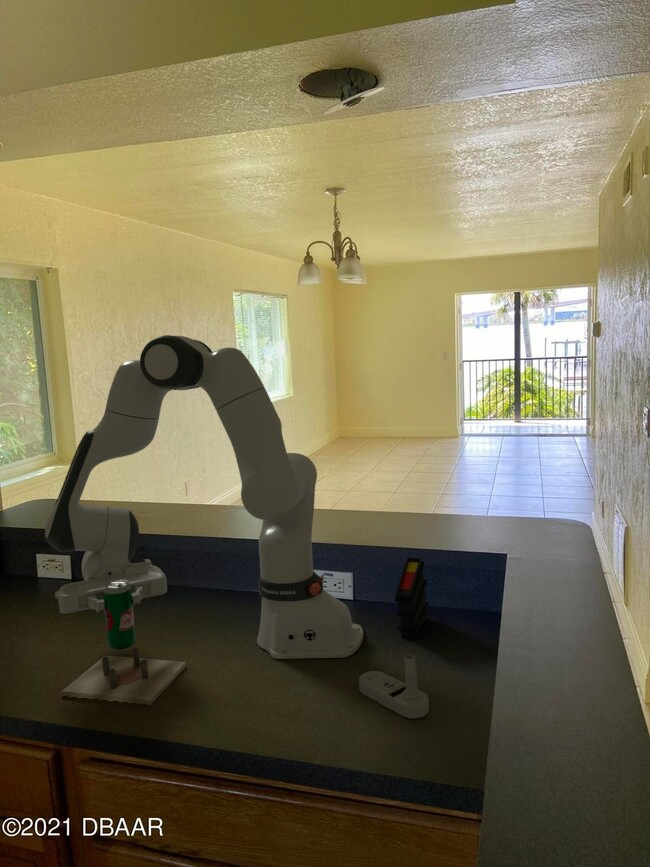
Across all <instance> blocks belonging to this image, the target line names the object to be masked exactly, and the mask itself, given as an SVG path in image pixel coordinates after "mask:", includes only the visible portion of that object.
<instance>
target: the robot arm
mask: <svg viewBox="0 0 650 867" xmlns="http://www.w3.org/2000/svg"><path fill="white" fill-rule="evenodd" d="M111 382H112V383H111V385H110V389H109V393H108V396H107V399H106V403H105V409H104V413H103V416H102V418H101V420H100V421H99V422H98V424H97V426H96V427H95V428H93V429H91V430H88V431H86V432H85V433H84V434H83V436H82V438H81V440H80V441H79V444H78V446H77V448H76V450H75V453H74V456H73V457H72V460H71V463H70V465H69V468H68V471H67V473H66V476H65V477H64V480H63V483H62V486H61V489H60V492H59V494H58V497H57V499H56V501H55V503H54V506H53V508H52V509H51V512H50V513H49V514H48V516H47V517H48V518H47V519H46V523H45V527H44V529H45V530H44V531H45V532H44V533H45V534H44V535H45V541H46V542H47V543H48V544H49V545H50V546H51V547H52V548H53V549H54V550H56V551H57V552H60V553H61V552H76V551H78V552H84V555H83V558H82V561H81V573H82V579H83V580H80V581H75V582H70V583H66V584H63V585H62V586H61V587H60V588H59V590H56V591H55V592H54V595H55V599H57V601H58V607H59V613H60V614H72V613H76V612H81V611H86V610H96V613H99V612H105V607H104V606H105V603H104V599H103V590H104V588H105V587H104V586H105V584H107V583H109V582H112V581H116V580H126V581H128V582H129V585H130V586H131V592H132V603H133V606H134V605H138V604H139V605H140V604H141V600H142V599H146V598H152V597H156V596H162V595H165V593H167V592H168V582H167V576H166V574H165V573H164V572H163V570H161V568H160V567H158V566H157V565H153V564H152V561H151V559H149V558H148V559H147V558H144V559H143V558H141V559H132V558H133V557H134V555H135V554H136V551H137V548H138V544H139V540H140V537H139V536H140V535H139V534H140V530H139V528H140V526H139V523H138V520H137V518H136V516H135V514H134V513H133V512H132V511H131V510H130V509H128V508H123V507H113V506H96V505H86V504H81V503H80V500H81V497H82V495H83V493H84V491H85V487H86V484H87V482H88V479H89V476H90V474H91V472H92V471H93V469H95V467H97V466H98V465H100V464H102V463H104V462H106V461H110V460H114V459H118V458H123V457H128V456H131V455H134V454H137V453H139V452H141V451H142V450H144V449H146V448H147V447H148V446H150V444H151V443H152V442H153V440H154V438H155V435H156V433H157V429H158V425H159V420H160V415H161V409H162V404H163V401H164V398H165V396H166V395H167V394H168V393H170V392H171V391H172V390H173V391H186V390H187V391H189V390H195V389H198V388H201V389H202V390H204V392H206V394H207V396H208V397H209V399H210V401H211V403H212V405H213V407H214V409H215V411H216V413H217V416H218V417H219V420H220V422H221V424H222V426H223V428H224V430H225V432H226V434H227V437H228V439H229V442H230V444H231V446H232V449H233V452H234V455H235V458H236V463H237V468H238V471H239V476H240V480H241V490H240V496H241V497H240V498H241V502H242V504H243V508H245V510H246V511H247V512H248V514H250V515H251V516H252V517H254V518H256V519H257V520H258V519H259V520H261V521H262V523H261V524H262V525H261V530H260V534H259V536H258V537H259V538H258V552H259V554H258V556H259V568H260V569H259V570H260V575H259V576H258V594H259V600H260V602H261V612H260V623H259V630H258V635H257V640H256V642H257V644H258V646H259V647H260V649H261V648H262V649H263V650H265V651H267V652H268V653H269V654H270V656H271V657H272V658H273V659H277V660H278V659H280V660H281V659H282V660H285V659H288V660H289V659H291V660H292V659H327V658H328V659H333V658H348V657H350V656H352V655H353V654H355V652H356V651H357V650H359V648H360V647H361V645H362V643H363V641H362V640H364V630H363V627H362V626H361V625H360V624H358V623H354V622H353V619H352V616H351V612H350V610H349V607H348V606H347V605H346V604H345V603H344V602H342V601H341V600H339V599H337V598H336V597H335V596H333V595H332V594H331V593H329V592H328V591H326V590H325V589H324V580H325V575H324V573H322V574H321V576H320V575H319V574H318V573H316V572H315V571H314V565H313V564H314V561H313V545H312V544H313V541H312V540H313V539H312V538H313V535H312V533H313V524H314V523H313V521H314V511H315V498H316V497H315V496H316V495H315V494H316V484H317V478H318V472H317V468H316V465H315V464H314V462H313V461H312V460H311V458H309V457H308V456H306V455H304V454H303V453H302V454H301V453H297V452H287V448H286V444H285V441H284V436H283V430H282V428H283V426H282V421H281V419H280V417H279V414H278V412H277V410H276V408H275V406H274V403H273V402H272V400H271V398H270V396H269V394H268V391H267V389H266V388H265V384H263V381H262V380H261V378H260V376H259V374H258V373H257V371H256V369H255V368H254V366H253V364H252V363H251V362H250V360H249V359H248V358H247V356H246V355H245V354H244V353H243V351H241V350H240V349H238V348H237V347H223V348H219V349H217V350H214V351H213V350H212V349H211V348H210V347H209V346H208V345H207V344H205V343H204V342H202V341H200V340H197V339H192V338H190V337H187V336H183V335H170V334H165V335H161V336H157V337H155V338H153V339H151V340H150V341H149V342H147V344H145V345H144V347H143V349H142V351H141V353H140V358H139V359H136V360H135V359H134V360H129V361H125V362H123V363H121V364H120V365H119V366H118V368H117V370H116V372H115V374H114V376H113V380H112V381H111Z"/></svg>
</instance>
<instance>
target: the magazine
mask: <svg viewBox="0 0 650 867" xmlns="http://www.w3.org/2000/svg"><path fill="white" fill-rule="evenodd" d="M405 560H406V561H405V564H404V567H403V570H402V572H401V576H400V579H399V582H398V584H397V589H396V591H395V596H394V602H395V603H398V604H397V605H398V610H397V613H396V614H397V616H398V617H399V619H400V620H399V623H400V624H399V626H398V629H397V630H398V632H400V637H401V636H407V637H415V636H416V637H417V635H418V633H419V632H420V630H421V628H422V627H421V626H423V625H422V623H423V622H424V619H425V618H426V616H427V617H428V614H427V611H428V609H429V607H430V606H429V602H427V595H426V588H427V587H426V586H427V583H428V580H427V579H426V578H425V575H424V574H425V573H424V568H425V567H424V566H425V561H422V559H421V558H419V557H407V558H406V559H405ZM426 619H427V618H426ZM424 623H425V622H424ZM424 623H423V624H424ZM420 627H421V628H420ZM419 629H420V630H419ZM418 631H419V632H418ZM417 632H418V633H417ZM416 634H417V635H416ZM407 637H406V638H407ZM416 637H415V638H416Z"/></svg>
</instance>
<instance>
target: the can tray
mask: <svg viewBox="0 0 650 867" xmlns="http://www.w3.org/2000/svg"><path fill="white" fill-rule="evenodd" d="M140 657H141V656H140V650H139V647H138V648H137V647H135V648H133V649H132V657H129V656H116V655H115V656H114V655H104V656H103V657H101V658H100V659H99V660H98V661H96V662H95V663H94V664H93V665H92V666H90V667H89V668H88V669H87V670H86V671H84V672H83V673H82V674H81V675H80V676H78V677H77V678H76V679H74V681H72V682H70V683H69V685H68V686H66V687H65V688H63V690H61V696H62V697H63V696H67V697H66V698H73V697H76V699H83V698H87V699H86V700H93V699H99V700H98V701H103V700H107V701H106V702H113V701H119V702H118V703H123V702H127V703H126V704H133V703H136V704H135V705H143V704H146V705H145V706H151V705H152V704H153V703H154V702H155V701H156V700H157V699H158V698H159V697H160V695H162V693H163V692H164V691H165V690H166V689H167V688H168V687H169V686H170V684H172V683H173V682H174V681H175V680H176V679H177V677H178V676H179V675H180V674H181V673H182V672H183V671H184V670H185V669H186V668H187V662H186V661H176V660H166V659H165V660H164V659H153V658H140ZM89 698H90V699H89ZM153 701H154V702H153ZM151 703H152V704H151Z"/></svg>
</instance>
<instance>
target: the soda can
mask: <svg viewBox="0 0 650 867" xmlns="http://www.w3.org/2000/svg"><path fill="white" fill-rule="evenodd" d="M104 587H105V588H104V590H103V599H104V603H105V606H104V607H105V611H104V619H105V620H104V621H105V629H106V640H107V642H106V643H107V646H108V648H110V649H112V650H115V651H118V650H119V651H121V650H125V649H128V648H130V647H131V646H134V644H135V643H136V629H135V618H134V605H133V603H132V592H131V586H130V585H129V582H128V581H126V580H116V581H112V582H109V583H107V584H105V586H104Z"/></svg>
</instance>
